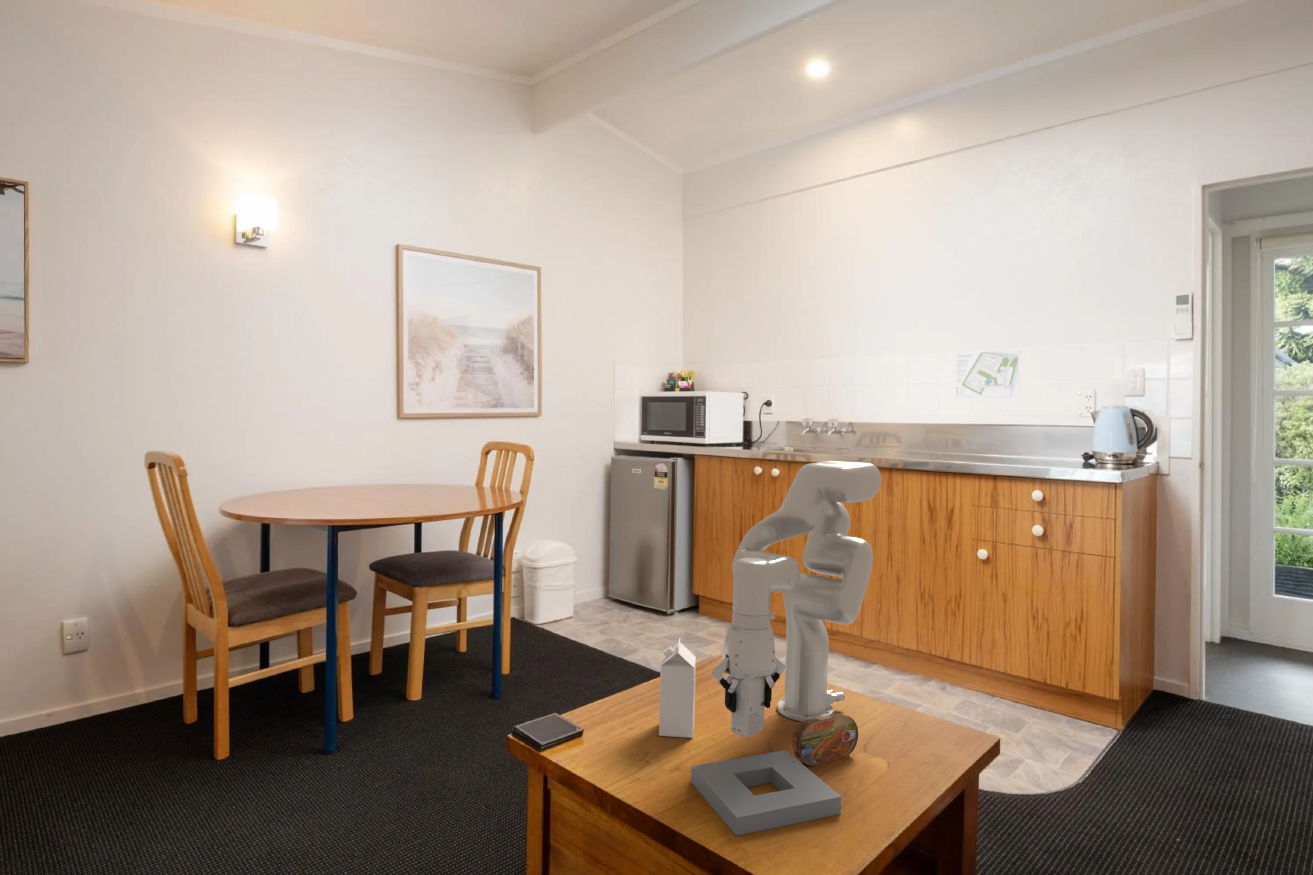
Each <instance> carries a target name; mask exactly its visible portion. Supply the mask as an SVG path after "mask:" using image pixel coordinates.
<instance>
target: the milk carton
mask: <svg viewBox="0 0 1313 875" xmlns="http://www.w3.org/2000/svg"><path fill="white" fill-rule="evenodd" d="M662 653H663V655H662V656H663V657H662V660H661V663H660V672H659V673H660V677H659V678H660V679H659V687H660V688H659V710H658V711H659V715H658V716H659V718H658V719H659V720H658V721H659V722H658V736H660V737H661V736H662V737H672V738H689V739H693V736H694V731H695V730H694V729H695V708H696V707H695V705H696V704H695V703H696V702H695V701H696V670H697V669H696V666H697V665H696V662H697V657H696V655H695V654H694V653H692V652H691V650H689V649H688V648H687V647H686V646H685V645H684V644H683V643H682V642H681V637H679V639H678V642H677V644H676V645H674V646H673V647H672V646H668V647H667V648H665V649H664V651H663V652H662Z"/></svg>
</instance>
